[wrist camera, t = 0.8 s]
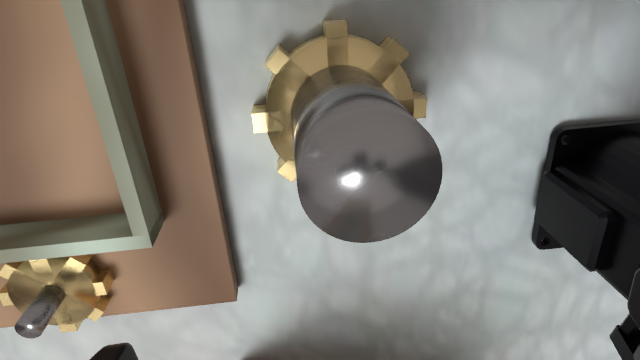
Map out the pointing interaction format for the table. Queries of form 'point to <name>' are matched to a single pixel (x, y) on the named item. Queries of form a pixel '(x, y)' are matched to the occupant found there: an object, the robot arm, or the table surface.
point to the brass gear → (351, 134)
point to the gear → (55, 292)
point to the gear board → (110, 151)
